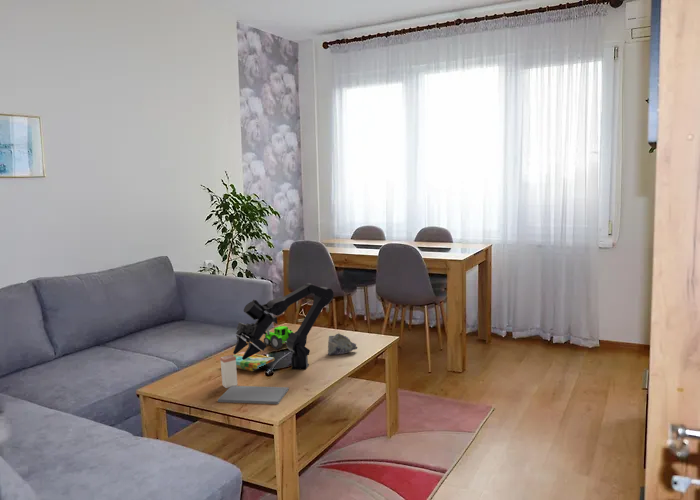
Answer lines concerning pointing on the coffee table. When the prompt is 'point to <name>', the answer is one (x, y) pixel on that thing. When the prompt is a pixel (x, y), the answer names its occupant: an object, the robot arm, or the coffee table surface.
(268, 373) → the coffee table surface
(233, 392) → the mat
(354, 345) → the mineral rock
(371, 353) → the coffee table surface
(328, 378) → the coffee table surface
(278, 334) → the toy tractor
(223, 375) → the card box
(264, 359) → the puzzle game
